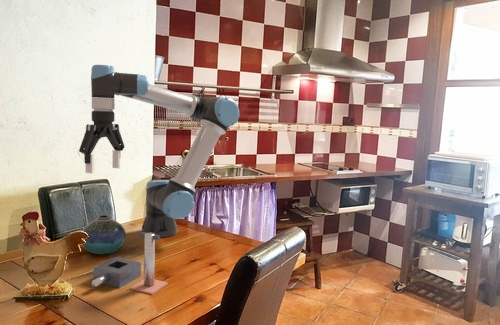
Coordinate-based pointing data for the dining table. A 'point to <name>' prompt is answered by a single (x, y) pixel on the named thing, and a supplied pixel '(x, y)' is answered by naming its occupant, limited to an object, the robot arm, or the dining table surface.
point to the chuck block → (116, 272)
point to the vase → (104, 235)
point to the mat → (149, 290)
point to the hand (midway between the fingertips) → (103, 170)
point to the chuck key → (149, 257)
